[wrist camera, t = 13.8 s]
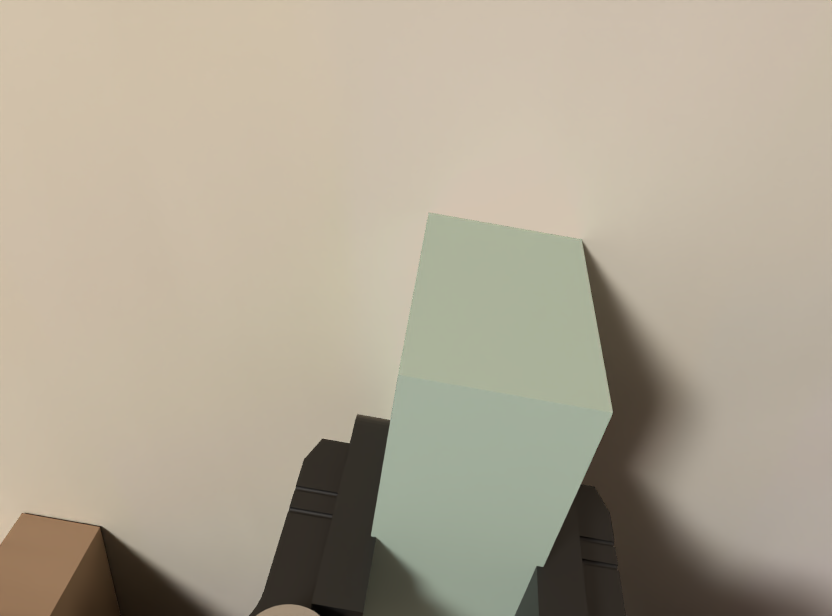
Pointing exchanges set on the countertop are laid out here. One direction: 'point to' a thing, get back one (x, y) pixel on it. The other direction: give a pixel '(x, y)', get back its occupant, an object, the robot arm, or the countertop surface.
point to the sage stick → (486, 420)
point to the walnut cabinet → (55, 570)
